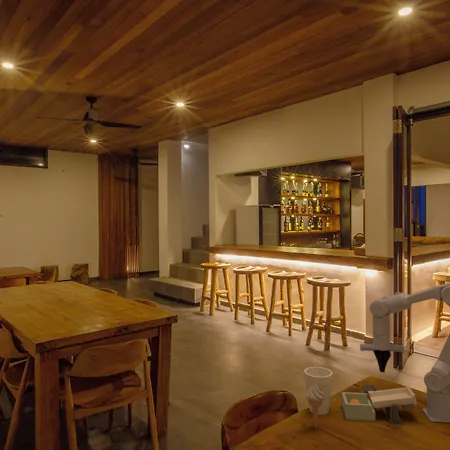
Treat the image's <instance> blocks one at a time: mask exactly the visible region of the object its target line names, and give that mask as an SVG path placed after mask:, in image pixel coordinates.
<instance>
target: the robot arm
mask: <svg viewBox="0 0 450 450" xmlns="http://www.w3.org/2000/svg"><path fill="white" fill-rule="evenodd" d="M433 299H434V300H436V301H438V302H444V303H445V305H446V306H448V307H449V308H450V283H444V284H443V283H442V284H438V285H433V286H430V287H427V288H425V289H422V290H419V291H416V292H413V293H410V294H408V293H405V292H400V291H397V292H394V294H393V295H390V296H386V295H385V296H382V298H379V299H377V300H376V299H375V300H374V301H372V302H371V303H370V305H369V311H370V313H371V314H372V342H371V343H361V344H359V350H360V352H366V351H368V352H371V351H372V352H373V354H374V356H375V359H376V361H377V364H378V365H377V366H378V369H379V372H380V373H385V372H386V367H387V364H388V362H389V360H390V359H391V357H392V353H391V352H396V353H397V352H398V353H405V347H404V345H401V344H393V343H391V319H390V317H391V314H395V313H399V312H403V311H406V310H409V309H411V307H412V305H413V304H417V303H420V302H425V301H429V300H433ZM443 345H444V346H443V347H442V349H441V351H440V353H439V356H438V358H437V360H436V361H435V363H434V364H433V366H432V368H431V369H430V371H428V372H427V373H425V375H424V377H423V382H424V385H425V387H426V408H425V407H424V408H422V411H423V413H424V414H425V416H426V417H427V418H428V419H429V421H430V422H431V423H432V422H433V423H448V424H449V423H450V333H449V334H448V336H447V338H446V340H445V342H444V344H443Z"/></svg>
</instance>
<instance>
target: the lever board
mask: <svg viewBox="0 0 450 450" xmlns="http://www.w3.org/2000/svg"><path fill="white" fill-rule="evenodd" d="M361 388H362V392H363V393H367V395H368V396H369V400H370V402H371V404H372V406H373V408H374V409H380V408H381V407H390V406H392V405H398V406H401V407H402V409H403V410H404V411H412V410H415V405H416V406H417V405H418V403H417V397H416V393H414V392H413V390H412V389H411V388H410V385H405V386H404V387H399V388H389V389H383V390H381V389H380V390H377V389H376V388H375V385H374V384H372V385H371V384H370V385H364V386H361ZM381 409H382V408H381Z"/></svg>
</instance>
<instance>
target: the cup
mask: <svg viewBox="0 0 450 450" xmlns="http://www.w3.org/2000/svg"><path fill="white" fill-rule="evenodd" d="M352 399H356V400H358V401H359V402H360V403H361V404H353V403H349V402H350V400H352ZM341 408H342V411H343V415H344V417H345V420H346V421H362V422H376V411H375V408H374V406H373V404H372V402H371V399H370V398H368V394H367V393H364V392H351V391H350V392H348V391H347V392H345V391H343V392H341Z"/></svg>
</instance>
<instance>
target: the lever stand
mask: <svg viewBox="0 0 450 450" xmlns="http://www.w3.org/2000/svg"><path fill="white" fill-rule="evenodd" d="M381 410H382V412H383V414H384V416H385V418H386V420H387V421H388V424H389V425H401V426H402V425H404V422H403V420H402V418H401V417H400V415H399V405H392V406H390V407H381Z"/></svg>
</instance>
